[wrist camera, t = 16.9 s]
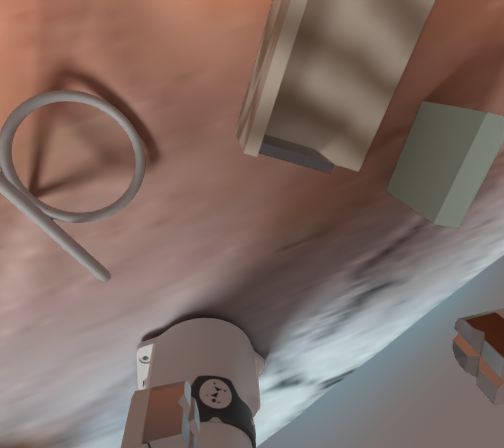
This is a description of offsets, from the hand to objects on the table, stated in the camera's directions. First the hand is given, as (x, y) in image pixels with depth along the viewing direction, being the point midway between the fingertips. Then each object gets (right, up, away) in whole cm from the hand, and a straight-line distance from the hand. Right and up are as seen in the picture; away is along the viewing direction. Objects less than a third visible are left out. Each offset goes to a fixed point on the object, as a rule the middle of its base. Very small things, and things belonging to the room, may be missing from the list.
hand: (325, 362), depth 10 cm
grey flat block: (+17, +13, +31) cm, 38 cm away
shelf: (+6, +21, +25) cm, 34 cm away
